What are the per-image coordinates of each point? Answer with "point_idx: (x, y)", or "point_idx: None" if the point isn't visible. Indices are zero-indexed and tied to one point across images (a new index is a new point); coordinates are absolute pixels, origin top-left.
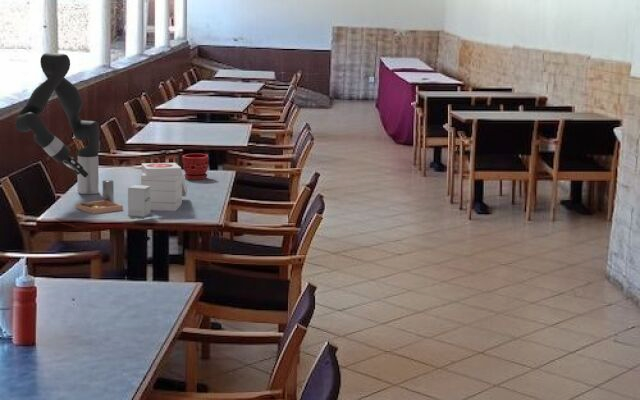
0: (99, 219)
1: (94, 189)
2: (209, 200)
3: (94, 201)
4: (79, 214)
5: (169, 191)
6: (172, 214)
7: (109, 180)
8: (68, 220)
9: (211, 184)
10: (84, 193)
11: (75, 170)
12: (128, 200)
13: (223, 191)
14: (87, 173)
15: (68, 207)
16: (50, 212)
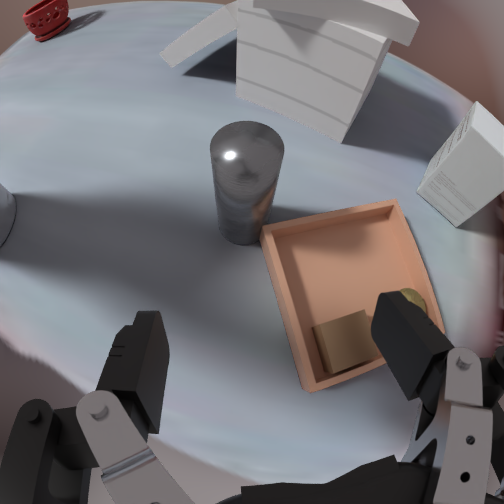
0: (468, 323)
1: (7, 202)
2: None
3: (281, 286)
4: (383, 386)
5: (384, 56)
6: (414, 115)
7: (229, 134)
8: None
9: (111, 13)
10: (2, 241)
11: (159, 388)
12: (492, 199)
13: (181, 2)
14: (401, 298)
15: (208, 403)
16: None
